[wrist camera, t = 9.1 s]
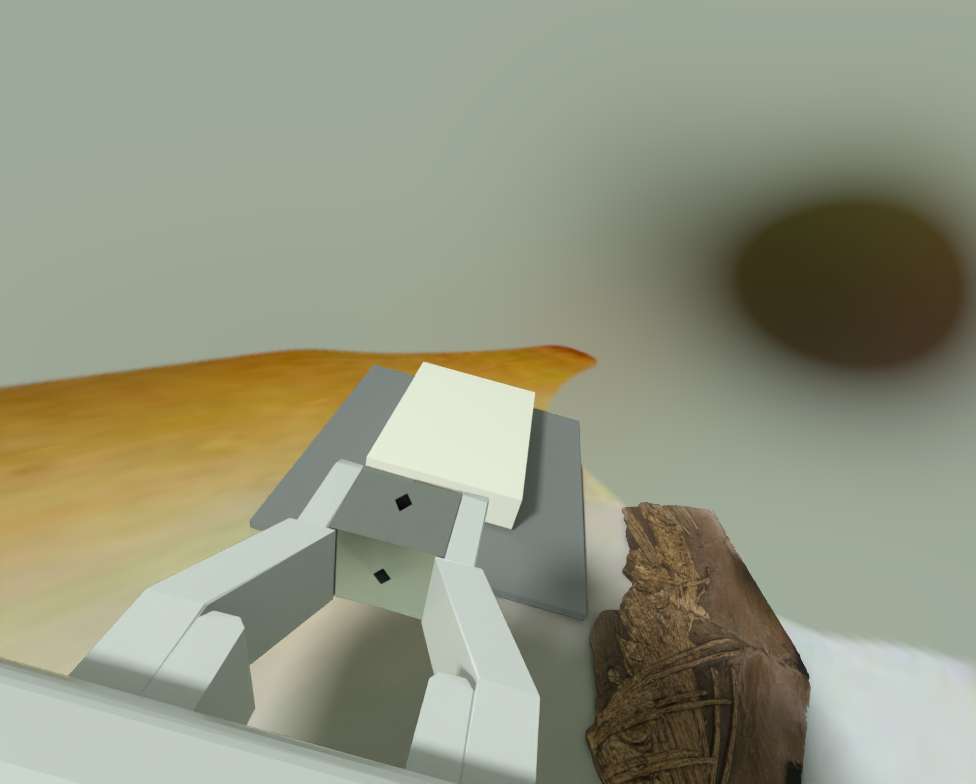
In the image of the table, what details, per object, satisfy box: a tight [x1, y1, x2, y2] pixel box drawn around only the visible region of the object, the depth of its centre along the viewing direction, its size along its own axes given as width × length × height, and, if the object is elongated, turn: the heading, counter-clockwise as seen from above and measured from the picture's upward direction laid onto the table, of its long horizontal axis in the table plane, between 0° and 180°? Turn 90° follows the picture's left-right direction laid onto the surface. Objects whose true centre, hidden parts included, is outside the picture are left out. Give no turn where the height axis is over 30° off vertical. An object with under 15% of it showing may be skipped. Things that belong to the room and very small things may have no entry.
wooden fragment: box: [586, 502, 811, 784], centre depth 23 cm, size 26×11×1 cm, turn 156°
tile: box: [366, 362, 535, 529], centre depth 32 cm, size 9×3×12 cm
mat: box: [250, 365, 587, 620], centre depth 32 cm, size 18×18×1 cm
